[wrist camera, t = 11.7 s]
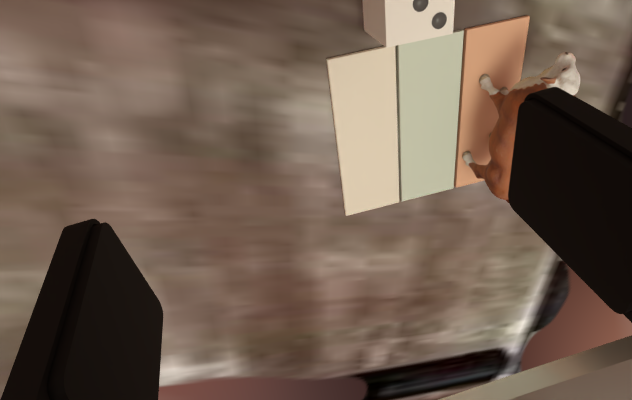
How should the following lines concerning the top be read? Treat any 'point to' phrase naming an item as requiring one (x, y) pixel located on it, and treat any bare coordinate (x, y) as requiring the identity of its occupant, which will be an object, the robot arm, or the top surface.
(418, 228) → the top surface
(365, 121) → the game board
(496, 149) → the bull figurine
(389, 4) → the die
